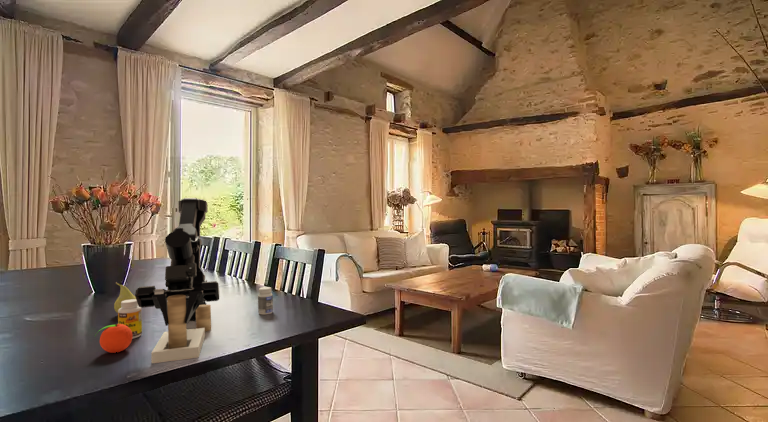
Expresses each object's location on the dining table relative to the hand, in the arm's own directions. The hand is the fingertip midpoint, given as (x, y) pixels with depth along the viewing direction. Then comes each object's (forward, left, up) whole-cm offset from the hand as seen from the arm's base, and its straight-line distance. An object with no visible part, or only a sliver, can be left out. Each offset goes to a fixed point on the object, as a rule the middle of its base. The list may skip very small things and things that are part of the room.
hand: (176, 323), depth 97 cm
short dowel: (-8, +19, -8) cm, 22 cm away
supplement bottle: (-24, +9, -8) cm, 27 cm away
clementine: (-18, -1, -8) cm, 20 cm away
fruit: (-45, +26, -8) cm, 52 cm away
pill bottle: (0, +39, -8) cm, 39 cm away
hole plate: (-3, +4, -8) cm, 10 cm away
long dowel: (-1, +1, -7) cm, 7 cm away
